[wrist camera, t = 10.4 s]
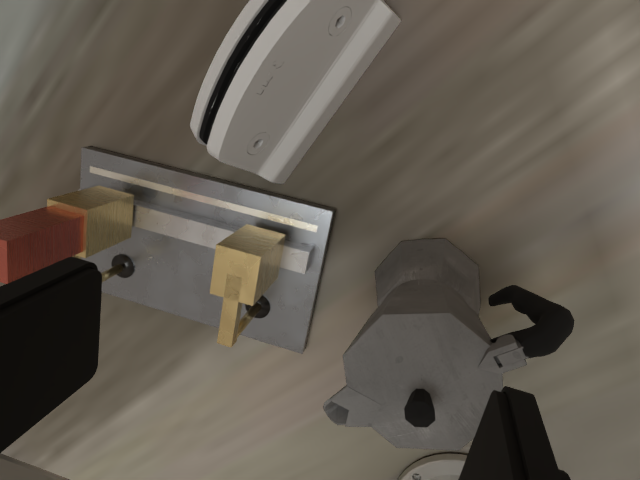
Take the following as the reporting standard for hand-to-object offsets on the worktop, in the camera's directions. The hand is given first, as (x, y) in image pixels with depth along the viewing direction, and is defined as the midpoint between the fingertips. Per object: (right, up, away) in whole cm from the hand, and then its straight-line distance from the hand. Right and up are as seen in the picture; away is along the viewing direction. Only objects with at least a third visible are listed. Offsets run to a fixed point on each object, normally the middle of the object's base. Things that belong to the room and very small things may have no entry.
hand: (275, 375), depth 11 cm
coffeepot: (+11, 0, +30) cm, 32 cm away
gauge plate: (-10, +2, +34) cm, 36 cm away
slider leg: (-17, +4, +34) cm, 38 cm away
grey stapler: (0, +16, +28) cm, 33 cm away
